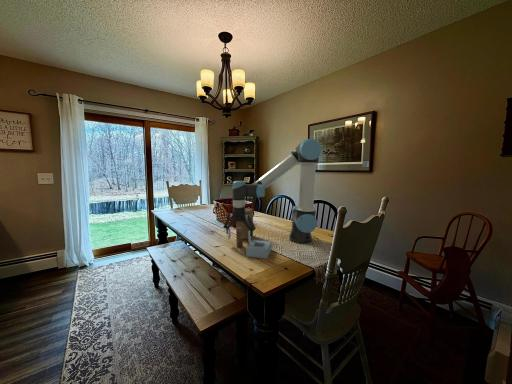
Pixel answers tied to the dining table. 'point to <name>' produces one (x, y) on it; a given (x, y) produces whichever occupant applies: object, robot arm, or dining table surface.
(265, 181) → the robot arm
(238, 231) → the walnut peg
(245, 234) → the wooden block
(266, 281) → the dining table surface
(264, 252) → the socket block
